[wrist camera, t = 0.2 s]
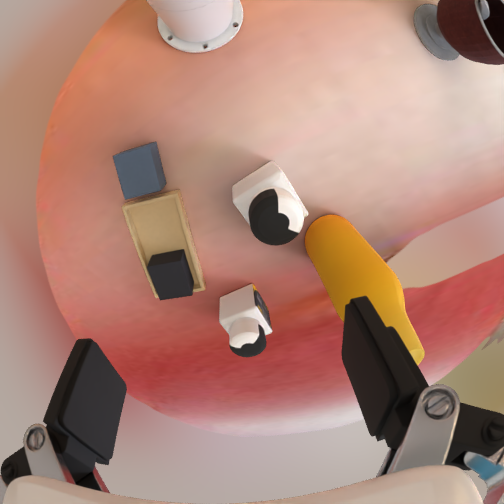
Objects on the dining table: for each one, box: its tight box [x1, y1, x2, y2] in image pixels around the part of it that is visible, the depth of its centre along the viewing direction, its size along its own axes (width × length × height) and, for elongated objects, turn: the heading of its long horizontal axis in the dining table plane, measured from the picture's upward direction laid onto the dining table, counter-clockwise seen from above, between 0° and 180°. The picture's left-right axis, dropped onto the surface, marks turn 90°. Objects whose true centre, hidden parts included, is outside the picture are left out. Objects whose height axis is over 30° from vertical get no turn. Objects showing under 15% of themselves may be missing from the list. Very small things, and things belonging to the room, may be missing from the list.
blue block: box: [113, 142, 166, 200], centre depth 39 cm, size 7×6×4 cm
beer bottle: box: [305, 215, 425, 365], centre depth 36 cm, size 9×9×29 cm
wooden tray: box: [122, 190, 206, 298], centre depth 47 cm, size 18×10×2 cm, turn 9°
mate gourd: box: [414, 0, 504, 65], centre depth 21 cm, size 16×14×20 cm
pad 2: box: [147, 249, 194, 300], centre depth 47 cm, size 7×6×4 cm
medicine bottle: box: [219, 284, 272, 357], centre depth 49 cm, size 7×7×12 cm
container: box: [232, 161, 308, 245], centre depth 39 cm, size 8×8×13 cm
